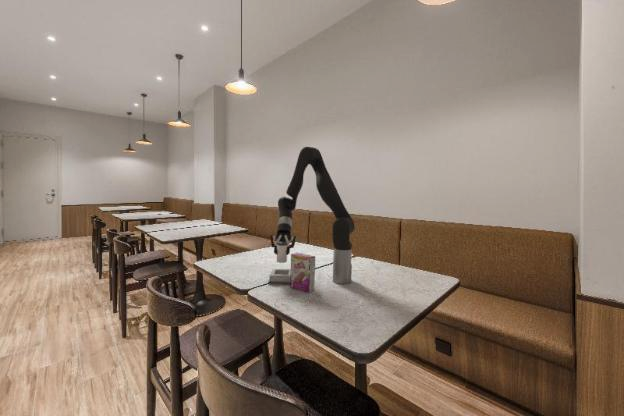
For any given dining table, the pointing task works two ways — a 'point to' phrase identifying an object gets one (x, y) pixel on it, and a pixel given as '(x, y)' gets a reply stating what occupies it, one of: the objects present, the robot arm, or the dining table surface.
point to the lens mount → (280, 276)
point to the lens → (281, 251)
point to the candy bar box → (302, 272)
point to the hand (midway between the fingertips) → (281, 253)
